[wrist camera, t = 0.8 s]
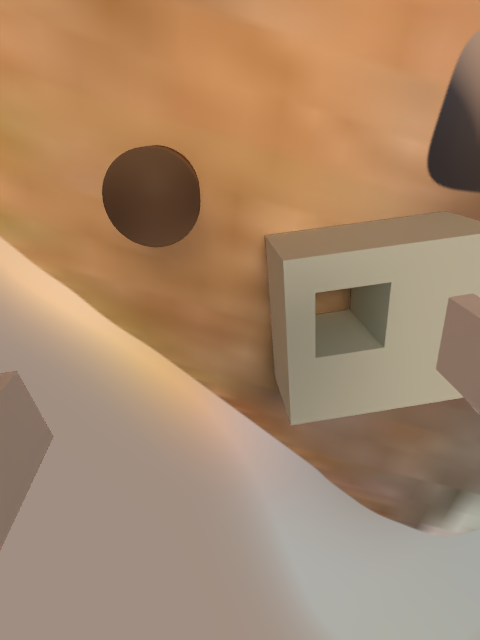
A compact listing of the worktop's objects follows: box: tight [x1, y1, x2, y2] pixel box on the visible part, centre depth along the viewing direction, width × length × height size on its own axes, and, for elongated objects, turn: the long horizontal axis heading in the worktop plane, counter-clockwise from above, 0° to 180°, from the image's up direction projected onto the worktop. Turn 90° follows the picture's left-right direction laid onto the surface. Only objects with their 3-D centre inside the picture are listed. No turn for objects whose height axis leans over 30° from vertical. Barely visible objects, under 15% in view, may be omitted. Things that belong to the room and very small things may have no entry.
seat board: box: [265, 211, 480, 425], centre depth 30 cm, size 15×16×7 cm
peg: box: [102, 145, 200, 247], centre depth 21 cm, size 4×4×12 cm
